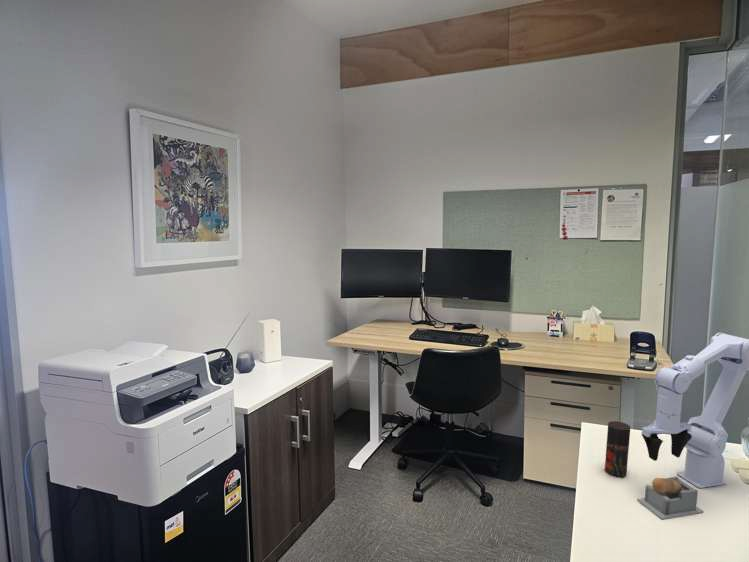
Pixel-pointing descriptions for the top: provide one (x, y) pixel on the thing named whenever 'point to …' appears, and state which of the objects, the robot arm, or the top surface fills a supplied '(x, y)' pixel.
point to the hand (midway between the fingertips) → (664, 457)
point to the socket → (671, 502)
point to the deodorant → (617, 449)
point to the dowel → (667, 485)
